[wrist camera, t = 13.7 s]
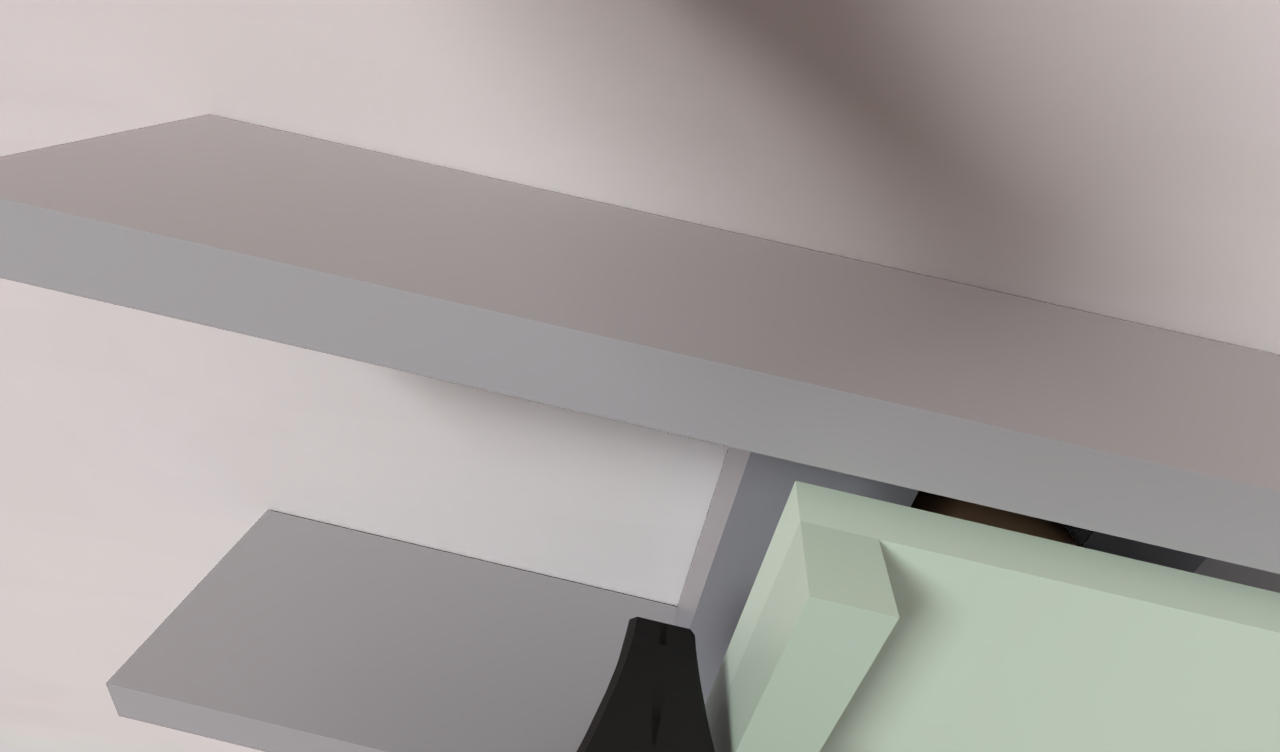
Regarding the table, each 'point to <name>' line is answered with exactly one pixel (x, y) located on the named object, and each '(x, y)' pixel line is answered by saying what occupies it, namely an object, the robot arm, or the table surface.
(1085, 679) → the lid
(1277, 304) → the table surface
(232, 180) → the housing
